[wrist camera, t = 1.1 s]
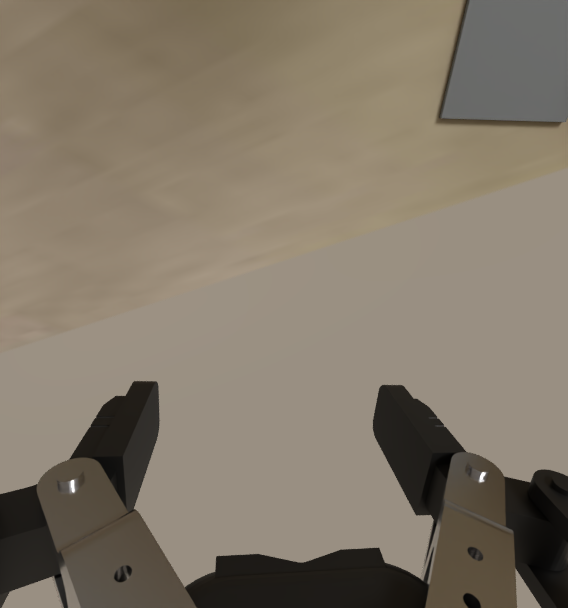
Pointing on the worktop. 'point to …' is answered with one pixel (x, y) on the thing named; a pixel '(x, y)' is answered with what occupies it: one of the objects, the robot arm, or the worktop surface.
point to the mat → (510, 62)
